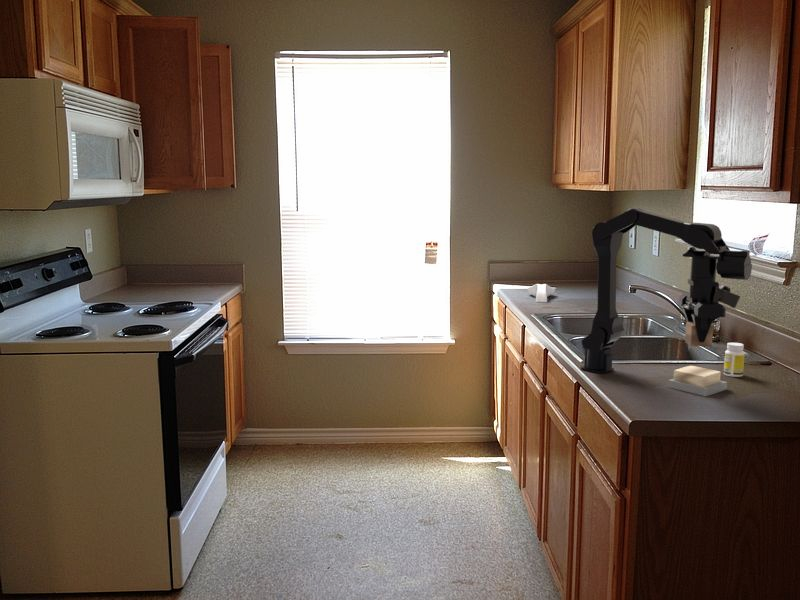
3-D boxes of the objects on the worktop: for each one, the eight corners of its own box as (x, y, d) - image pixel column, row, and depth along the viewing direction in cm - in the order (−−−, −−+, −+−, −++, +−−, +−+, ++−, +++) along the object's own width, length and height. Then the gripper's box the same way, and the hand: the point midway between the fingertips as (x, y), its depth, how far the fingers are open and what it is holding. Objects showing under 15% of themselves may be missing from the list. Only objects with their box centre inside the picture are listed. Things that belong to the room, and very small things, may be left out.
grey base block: (667, 389, 190) (668, 380, 189) (688, 383, 196) (689, 373, 196) (705, 399, 182) (706, 388, 182) (726, 391, 188) (727, 382, 188)
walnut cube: (690, 345, 185) (691, 325, 184) (685, 341, 190) (686, 321, 189) (711, 346, 184) (713, 326, 183) (705, 342, 189) (707, 322, 188)
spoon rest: (526, 294, 339) (527, 278, 338) (553, 295, 338) (554, 279, 337) (527, 302, 316) (528, 285, 315) (556, 303, 315) (557, 286, 313)
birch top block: (673, 380, 189) (673, 370, 189) (689, 374, 195) (690, 365, 194) (703, 386, 183) (704, 376, 183) (720, 381, 189) (720, 371, 188)
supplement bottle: (744, 374, 203) (747, 343, 202) (741, 378, 199) (743, 346, 198) (725, 371, 206) (727, 341, 204) (721, 375, 202) (724, 344, 200)
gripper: (751, 282, 174) (745, 349, 177) (725, 272, 193) (721, 333, 195) (700, 281, 175) (696, 347, 178) (679, 271, 194) (676, 332, 196)
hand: (698, 339), depth 187 cm, fingers closed on walnut cube, 5 cm apart
